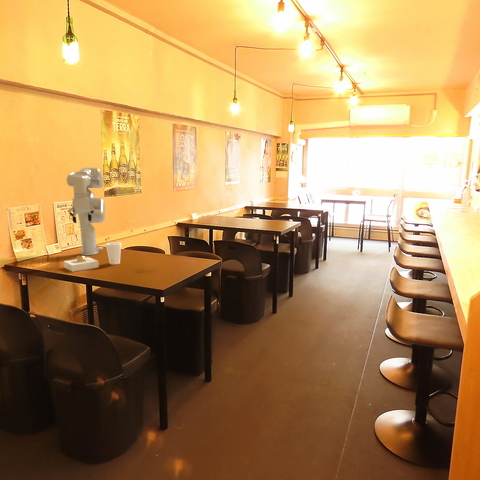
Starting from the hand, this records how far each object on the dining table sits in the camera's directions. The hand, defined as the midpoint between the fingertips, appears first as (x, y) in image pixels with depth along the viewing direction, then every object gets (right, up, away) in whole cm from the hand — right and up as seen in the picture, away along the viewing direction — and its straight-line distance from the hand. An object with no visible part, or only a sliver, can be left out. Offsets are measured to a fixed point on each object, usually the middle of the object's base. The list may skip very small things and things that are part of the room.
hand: (82, 221), depth 263 cm
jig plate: (+4, -29, -12) cm, 32 cm away
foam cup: (+22, -27, -2) cm, 35 cm away
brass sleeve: (+4, -29, -12) cm, 31 cm away
